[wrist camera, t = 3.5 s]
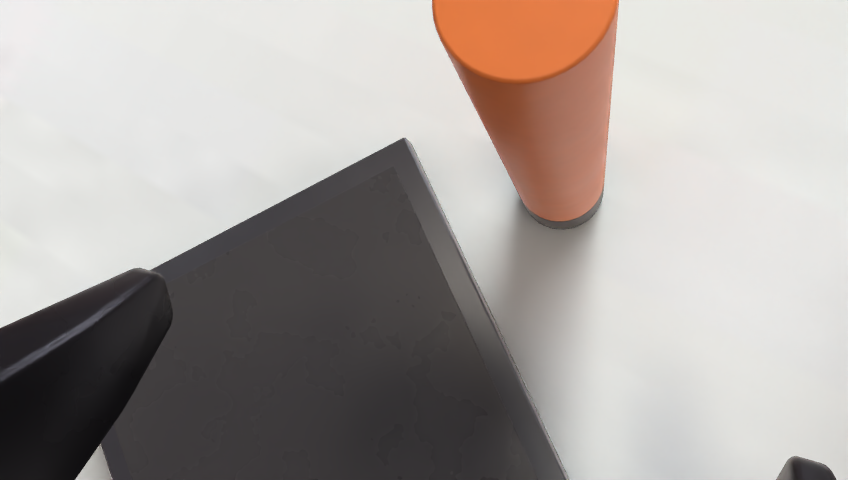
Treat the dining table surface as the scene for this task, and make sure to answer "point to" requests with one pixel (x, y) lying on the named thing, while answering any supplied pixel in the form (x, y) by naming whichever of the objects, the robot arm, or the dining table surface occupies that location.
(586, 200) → the stylus
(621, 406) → the dining table surface
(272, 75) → the dining table surface
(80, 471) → the robot arm
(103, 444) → the tablet
